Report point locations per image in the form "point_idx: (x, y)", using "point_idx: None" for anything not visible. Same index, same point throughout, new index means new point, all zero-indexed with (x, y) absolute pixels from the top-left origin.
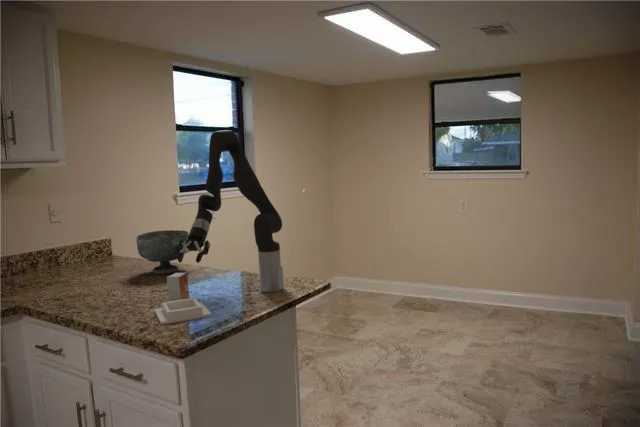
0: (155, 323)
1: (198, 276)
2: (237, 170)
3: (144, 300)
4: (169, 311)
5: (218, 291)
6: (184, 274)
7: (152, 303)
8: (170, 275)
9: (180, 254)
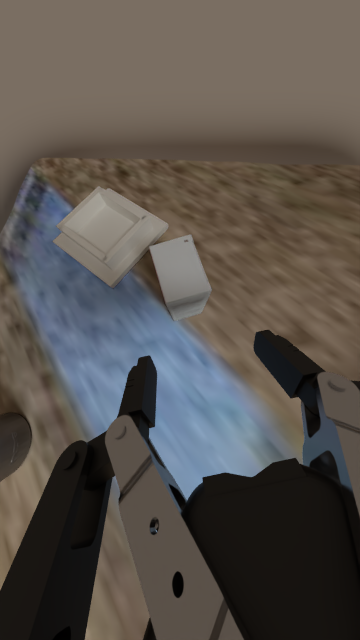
0: (123, 193)
1: None
2: None
3: (249, 269)
4: (98, 190)
5: None
6: (159, 282)
7: (214, 260)
8: (198, 256)
9: (297, 360)
